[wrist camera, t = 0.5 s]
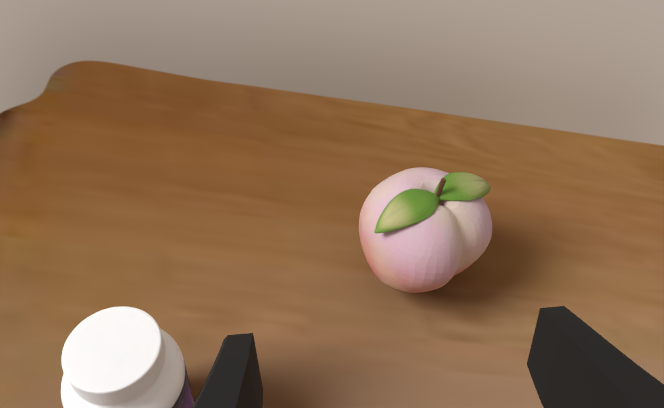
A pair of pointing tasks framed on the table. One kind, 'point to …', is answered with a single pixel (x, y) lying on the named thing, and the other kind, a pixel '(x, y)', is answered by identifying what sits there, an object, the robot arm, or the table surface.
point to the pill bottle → (123, 364)
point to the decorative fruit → (424, 227)
